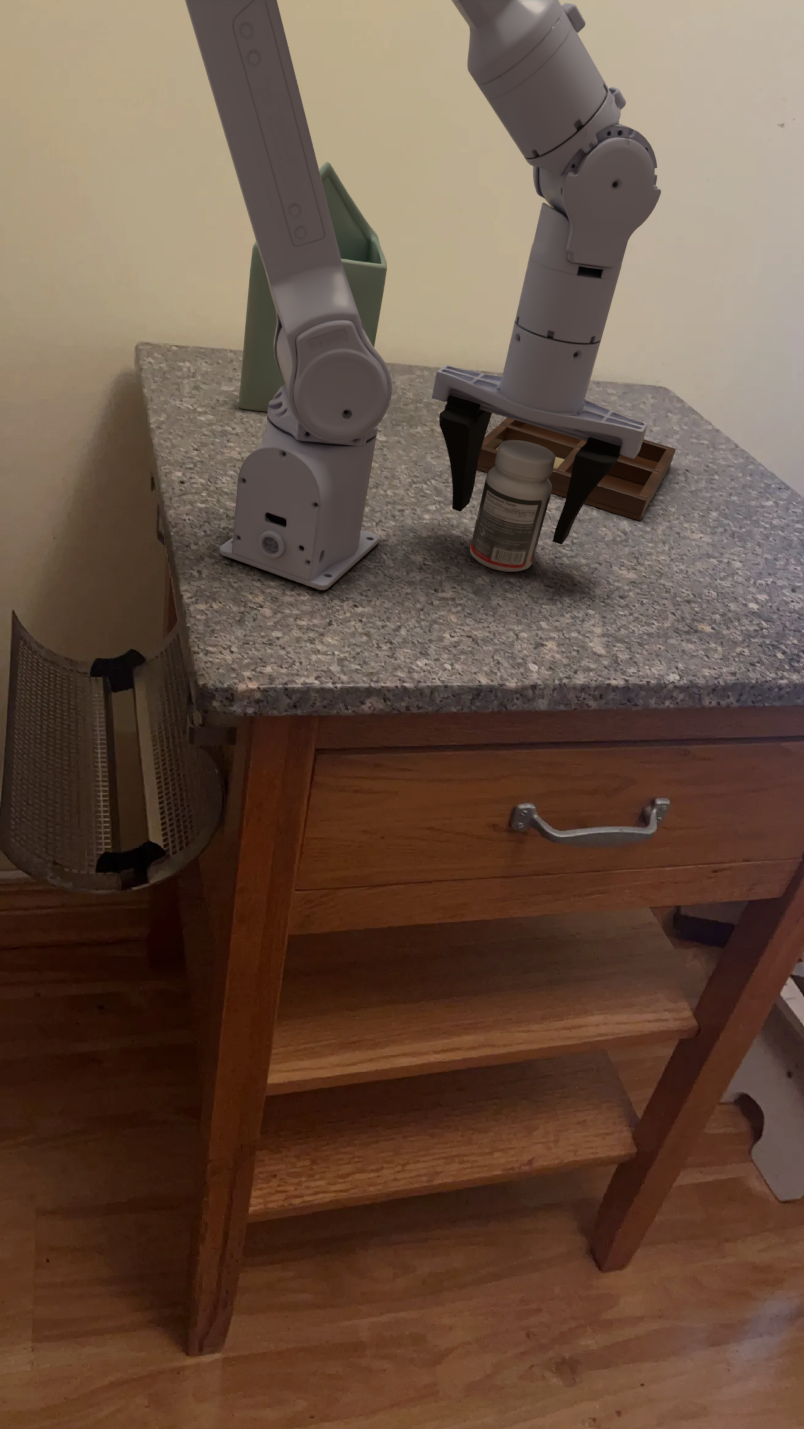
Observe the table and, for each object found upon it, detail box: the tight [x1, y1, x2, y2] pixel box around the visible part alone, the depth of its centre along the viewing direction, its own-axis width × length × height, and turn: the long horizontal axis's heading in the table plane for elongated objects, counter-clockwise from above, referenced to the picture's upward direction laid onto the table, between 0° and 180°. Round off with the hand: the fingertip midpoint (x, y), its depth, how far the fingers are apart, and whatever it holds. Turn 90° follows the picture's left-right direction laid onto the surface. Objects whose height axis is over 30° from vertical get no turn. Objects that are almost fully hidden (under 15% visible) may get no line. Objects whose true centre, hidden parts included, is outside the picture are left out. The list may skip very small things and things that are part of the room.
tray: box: [477, 417, 677, 522], centre depth 94 cm, size 15×15×2 cm
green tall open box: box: [238, 161, 388, 413], centre depth 91 cm, size 16×8×20 cm, turn 143°
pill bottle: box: [469, 440, 555, 573], centre depth 74 cm, size 5×5×8 cm
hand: (510, 522), depth 74 cm, fingers open, 7 cm apart
